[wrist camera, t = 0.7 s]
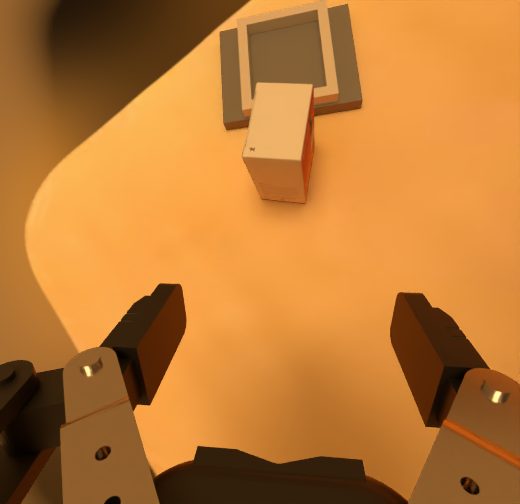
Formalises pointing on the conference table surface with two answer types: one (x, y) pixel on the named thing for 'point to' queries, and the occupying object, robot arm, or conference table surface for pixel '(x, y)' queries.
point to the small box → (281, 140)
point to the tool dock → (290, 59)
